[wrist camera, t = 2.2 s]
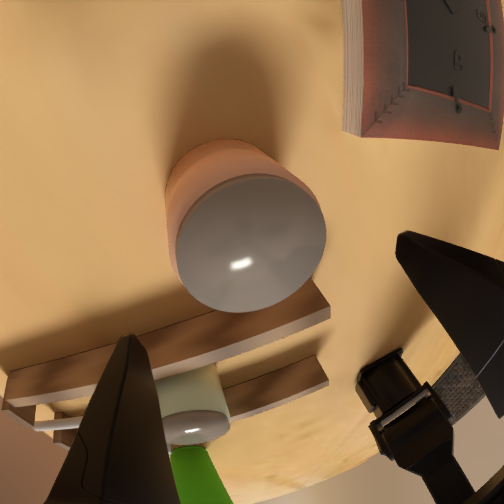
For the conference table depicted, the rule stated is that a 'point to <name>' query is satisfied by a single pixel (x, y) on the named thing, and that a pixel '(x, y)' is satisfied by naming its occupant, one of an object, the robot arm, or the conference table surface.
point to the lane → (186, 361)
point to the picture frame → (424, 70)
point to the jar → (240, 227)
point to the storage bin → (458, 389)
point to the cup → (197, 477)
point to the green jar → (193, 406)
